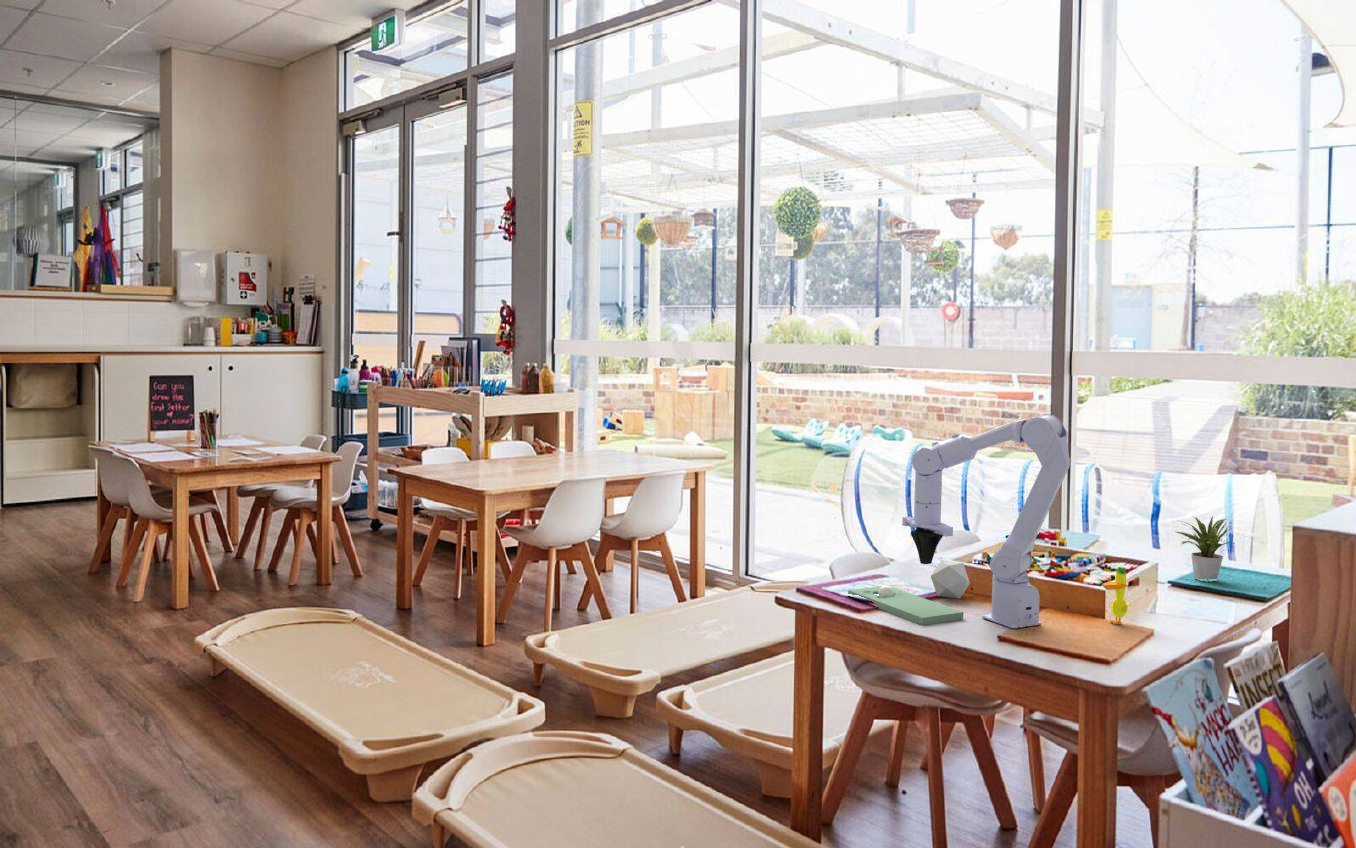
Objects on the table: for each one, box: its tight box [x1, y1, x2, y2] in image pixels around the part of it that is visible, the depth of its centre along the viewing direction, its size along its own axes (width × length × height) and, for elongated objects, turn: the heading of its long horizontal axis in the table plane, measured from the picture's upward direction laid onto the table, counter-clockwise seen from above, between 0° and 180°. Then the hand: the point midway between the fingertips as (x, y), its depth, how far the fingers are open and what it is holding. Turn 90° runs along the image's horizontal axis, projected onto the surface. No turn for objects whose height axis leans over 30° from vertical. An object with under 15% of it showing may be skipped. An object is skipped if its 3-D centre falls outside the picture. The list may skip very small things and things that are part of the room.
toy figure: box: [1101, 566, 1130, 625], centre depth 226 cm, size 7×4×12 cm, turn 106°
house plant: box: [1176, 515, 1236, 580], centre depth 269 cm, size 14×14×16 cm
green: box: [847, 585, 964, 626], centre depth 238 cm, size 26×11×2 cm, turn 27°
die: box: [930, 560, 971, 599], centre depth 248 cm, size 8×9×10 cm
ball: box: [878, 584, 894, 597], centre depth 243 cm, size 4×4×4 cm
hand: (925, 563), depth 237 cm, fingers closed
